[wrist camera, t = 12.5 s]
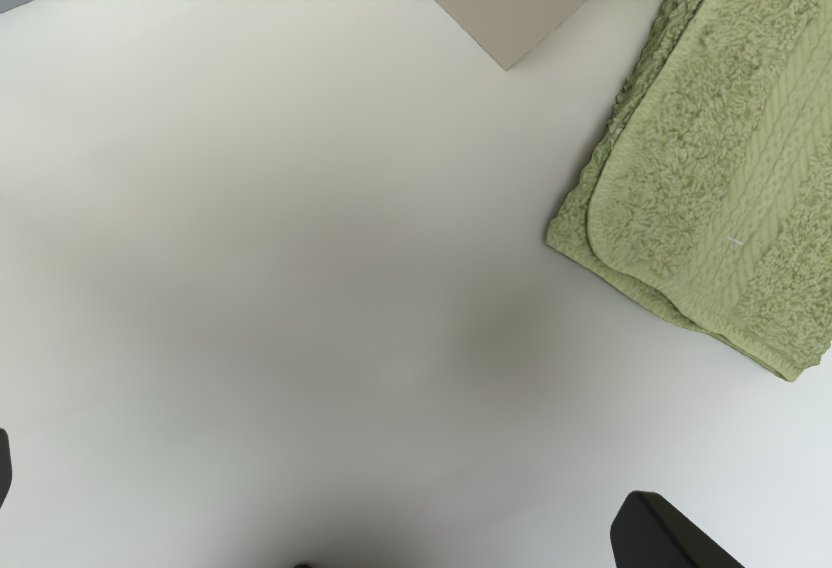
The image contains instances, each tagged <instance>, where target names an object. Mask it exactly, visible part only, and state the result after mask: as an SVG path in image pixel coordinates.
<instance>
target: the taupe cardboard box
mask: <svg viewBox="0 0 832 568" xmlns="http://www.w3.org/2000/svg"><path fill="white" fill-rule="evenodd" d="M435 1H436V2H437V3H438V4H439V5H440V6H441V7H442V8H443V9H444V10H445V11H446V12H447V13H448V14H449V15H450V16H451V17H452V18H453V19H454V20H455V21H456V22H457V23H458V24H459V25H460V26H461V27H462V28H463V29H464V30H465V31H466V32H467V33H468V34H470V35H471V36H472V37H473V38H474V39H475V40H476V41H477V42H478V43H479V44H480V45H481V46H482V47H483V48H484V49H485V50H486V51H487V52H488V53H489V54H490V55H491V56H492V57H493V58H494V59H495V60H496V61H497V62H498V63H499V64H500V65H501V66H502V67H503V68H504V69H505V70H506V71H507V70H508V69H509V68H510V67H512V66H513V65H514V64H515V63H516V62H517V61H518V60H520V59H521V58H522V57H523V56H524V55H525V54H526V53H527V52H529V51H530V50H531V49H532V48H533V47H534V46H535V45H537V44H538V43H539V42H540V41H541V40H542V39H543V38H545V37H546V36H547V35H548V34H549V33H550V32H551V31H553V30H554V29H555V28H556V27H557V26H558V25H559V24H561V23H562V22H563V21H564V20H565V19H566V18H567V17H569V16H570V15H571V14H572V13H573V12H574V11H575V10H577V9H578V8H579V7H580V6H581V5H582V4H583V3H585V2H586V1H587V0H435Z"/></svg>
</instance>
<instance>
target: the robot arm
mask: <svg viewBox="0 0 832 568" xmlns="http://www.w3.org/2000/svg"><path fill="white" fill-rule="evenodd" d="M11 481H12V465H11V456H10V448H9V440H8V435H7V432H6V431H5V430H4V429H2V428H0V508H1V506H2V504H3V502H4V500H5V498H6V496H7V493H8V491H9V488H10V485H11ZM610 539H611V544H612V549H613V553H614V558H615V562H616V567H617V568H745V567H744V566H742V565H741V564H740V563H739V562H738V561H737V560H735V559H734V558H733V557H732V556H731V555H730V554H729V553H727V552H726V551H725V550H724V549H723V548H722V547H720V546H719V545H718V544H717V543H716V542H715V541H713V540H712V539H711V538H710V537H709V536H708V535H706V534H705V533H704V532H703V531H702V530H701V529H699V528H698V527H697V526H696V525H695V524H694V523H692V522H691V521H690V520H689V519H688V518H687V517H685V516H684V515H683V514H682V513H681V512H680V511H678V510H677V509H676V508H675V507H674V506H673V505H672V504H670V503H669V502H668V501H667V500H666V499H665V498H663V497H662V496H661V495H659V494H657V493H654V492H646V491H632V492H631V493H629V494H628V496H627V497H626V499H625V501H624V503H623V505H622V506H621V508H620V510H619V512H618V514H617V515H616V517H615V519H614V521H613V523H612V525H611V530H610ZM294 568H312V567H310V566H308V565H303V564H301V565H298V566H296V567H294Z"/></svg>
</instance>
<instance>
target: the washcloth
mask: <svg viewBox="0 0 832 568" xmlns="http://www.w3.org/2000/svg"><path fill="white" fill-rule="evenodd" d="M624 90H625V93H623V94H619V95H617V101H618V103H619V104H616V105H614V111H613V112H614V114H613V115H612V118H611V119H609V120H608V121H607V124H608V127H607V128H606V130H605V131H606V132H607V133H606V135H605V136H604V138H603V139H602V140H601V142H599V143H598V145H597V146H596V147H595V149H594V152H593V153H592V158H591V161H590V162H589V163H588V164H587V166H586V167H584V168H583V169H582V172H581V175H580V178H579V184H578V185H577V187H576V188H575V189H574V190H573V191H571V192H569V193H568V197H567V198H566V199H565V202H564V204H563V205H562V206H561V207H560V210H559V212H558V215H557V217H556V218H554V219H553V220H551V222H550V223H549V225H548V232H547V237H546V243H545V245H548V246H549V245H550V246H551V247H553V248H554V249H555V250H557V251H559V252H562V253H564V254H565V255H566V256H568V257H570V258H571V259H573V260H575V261H576V262H578V263H579V264H581V265H582V266H583V267H586V268H588V269H590V270H591V271H593V272H595V273H596V274H597V275H599V276H601V277H603V278H604V279H605V280H606V281H607V282H609V283H610V284H611V285H613V286H614V287H616V288H617V289H618V290H619V291H621V292H623V293H624V294H625V295H627V296H628V297H629V298H630V299H632V300H634V301H636V302H638V303H639V304H640V305H641V306H643V307H644V308H645V309H647V310H649V311H651V312H653V313H654V314H655V315H657V316H658V317H660V318H661V319H663V320H665V321H667V322H671V323H673V324H675V325H677V326H679V327H683V328H686V329H688V330H691V331H697V332H703V333H707V334H709V335H711V336H712V337H714V338H716V339H718V340H720V341H722V342H724V343H725V344H727V345H729V346H731V347H732V348H734V349H736V350H737V351H739V352H740V353H742V354H744V355H746V356H748V357H750V358H751V359H753V360H754V361H756V362H757V363H759V364H760V365H761V366H763V367H764V368H766V369H767V370H769V371H770V372H772V373H773V374H774V375H775V376H777V377H780V378H782V379H783V380H785V381H788V382H794V381H795V380H796V379H797V377H798V376H799V375H800V374H801V373H802V372H803V371H804V369H806V368H809V367H811V366H816V365H819V364H820V360H821V355H822V354H824V353H825V352H826V350H827V349H829V348H830V346H831V344H830V341H831V340H832V0H667V1H666V2H664V3H663V5H662V8H661V10H660V13H659V15H658V18H657V20H656V22H655V24H654V25H653V27H652V29H651V31H650V34H649V41H648V43H647V46H646V48H644V49H643V50H642V56H641V60H640V61H639V62H638V64H637V66H636V69H635V72H634V74H633V76H629V77H627V83H626V85H625V86H624Z"/></svg>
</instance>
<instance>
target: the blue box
mask: <svg viewBox="0 0 832 568" xmlns="http://www.w3.org/2000/svg"><path fill="white" fill-rule="evenodd" d="M29 1H31V0H0V13H2V12H5V11H7V10H9V9H12V8H14V7H17V6H19V5H22V4H24V3H27V2H29Z"/></svg>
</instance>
